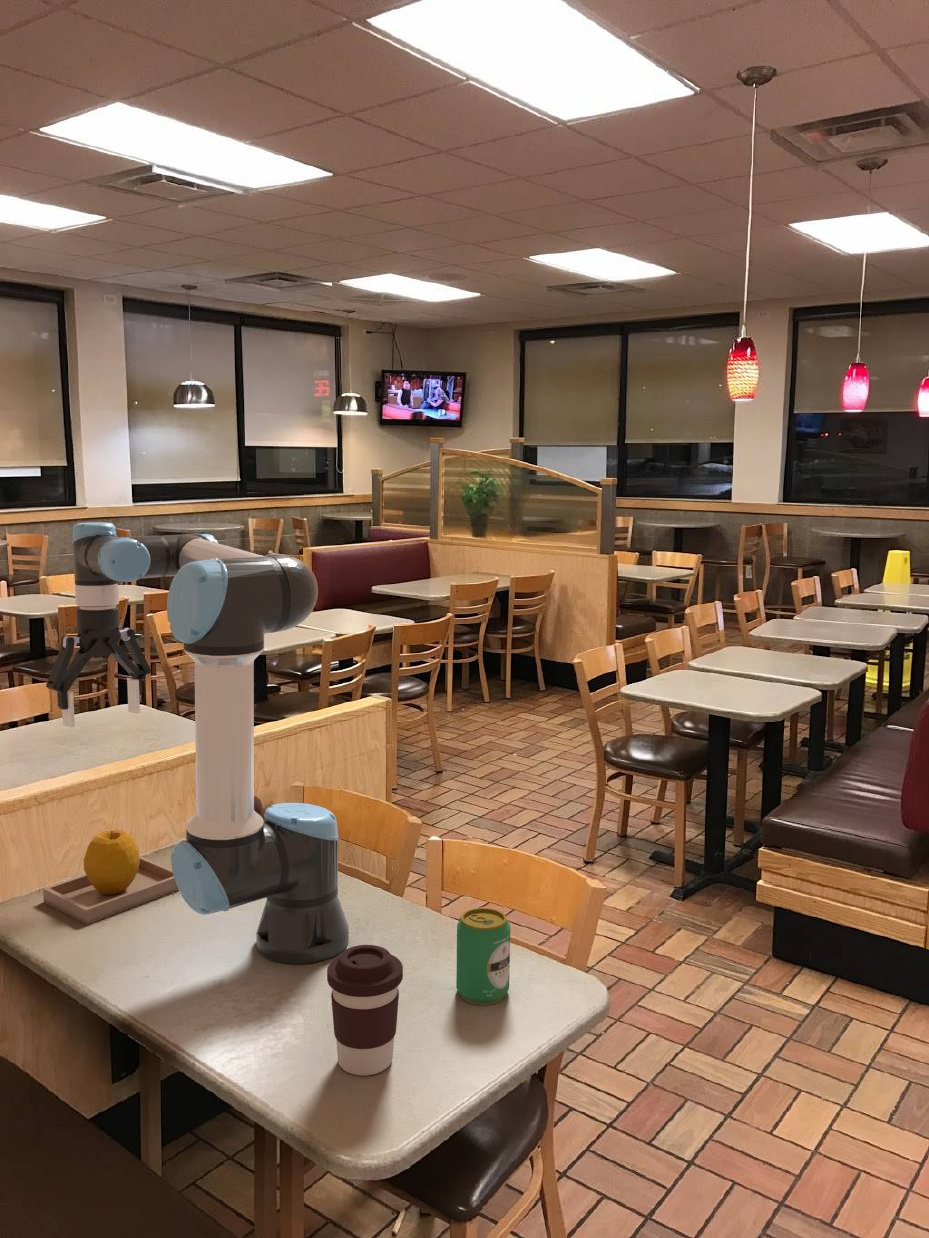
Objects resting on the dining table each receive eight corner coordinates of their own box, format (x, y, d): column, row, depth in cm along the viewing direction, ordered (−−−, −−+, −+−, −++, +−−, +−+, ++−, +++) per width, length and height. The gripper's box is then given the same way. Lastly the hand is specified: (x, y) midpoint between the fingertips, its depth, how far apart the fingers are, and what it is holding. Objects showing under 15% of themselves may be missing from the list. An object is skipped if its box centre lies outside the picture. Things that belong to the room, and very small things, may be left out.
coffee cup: (403, 1040, 140) (403, 938, 138) (401, 1083, 131) (401, 974, 128) (331, 1040, 140) (330, 938, 138) (324, 1084, 130) (323, 974, 128)
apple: (107, 908, 179) (104, 844, 177) (73, 895, 184) (70, 833, 182) (152, 889, 187) (149, 828, 185) (117, 877, 192) (115, 817, 190)
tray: (140, 868, 198) (140, 855, 198) (184, 887, 189) (184, 874, 189) (43, 901, 182) (43, 888, 182) (86, 924, 174) (86, 910, 173)
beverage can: (486, 1012, 148) (487, 935, 146) (445, 993, 153) (446, 918, 151) (519, 991, 154) (521, 916, 152) (479, 973, 159) (480, 901, 157)
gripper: (144, 598, 199) (148, 703, 202) (22, 611, 180) (28, 728, 183) (167, 601, 194) (170, 709, 197) (44, 616, 175) (50, 735, 178)
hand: (102, 719), depth 190 cm, fingers open, 13 cm apart
